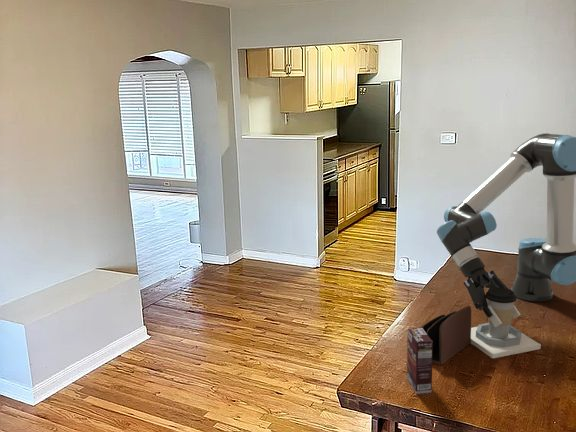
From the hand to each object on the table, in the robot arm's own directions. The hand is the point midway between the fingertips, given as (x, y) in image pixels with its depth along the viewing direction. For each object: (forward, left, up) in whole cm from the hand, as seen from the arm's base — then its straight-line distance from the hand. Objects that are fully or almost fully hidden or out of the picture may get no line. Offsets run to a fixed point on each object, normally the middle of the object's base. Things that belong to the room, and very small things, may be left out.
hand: (508, 321), depth 170 cm
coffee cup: (+1, -3, -6) cm, 7 cm away
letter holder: (+21, -5, -9) cm, 23 cm away
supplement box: (+39, +12, -9) cm, 42 cm away
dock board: (+1, -3, -8) cm, 9 cm away
